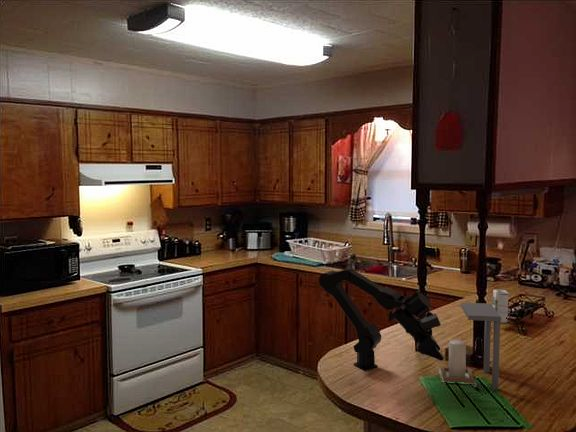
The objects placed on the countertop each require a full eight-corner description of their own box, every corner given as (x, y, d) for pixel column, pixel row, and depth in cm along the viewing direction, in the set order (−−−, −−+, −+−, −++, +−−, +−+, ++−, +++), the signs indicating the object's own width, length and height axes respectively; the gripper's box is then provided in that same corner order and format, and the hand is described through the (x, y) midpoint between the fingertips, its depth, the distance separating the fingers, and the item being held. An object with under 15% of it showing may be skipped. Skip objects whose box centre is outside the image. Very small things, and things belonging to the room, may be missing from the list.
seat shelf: (443, 386, 170) (444, 314, 168) (438, 367, 186) (439, 301, 184) (498, 390, 167) (501, 316, 165) (488, 370, 183) (490, 303, 180)
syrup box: (491, 319, 244) (492, 289, 243) (504, 319, 243) (505, 289, 242) (494, 322, 238) (495, 292, 237) (508, 323, 238) (509, 292, 236)
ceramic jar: (444, 375, 178) (445, 341, 177) (456, 371, 181) (457, 338, 180) (457, 380, 173) (458, 346, 172) (468, 377, 176) (469, 343, 175)
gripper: (429, 314, 168) (463, 349, 167) (424, 299, 186) (455, 331, 185) (403, 336, 170) (437, 371, 169) (401, 319, 188) (431, 350, 187)
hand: (441, 354), depth 177 cm, fingers open, 9 cm apart
